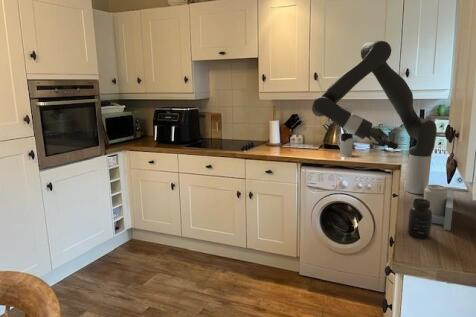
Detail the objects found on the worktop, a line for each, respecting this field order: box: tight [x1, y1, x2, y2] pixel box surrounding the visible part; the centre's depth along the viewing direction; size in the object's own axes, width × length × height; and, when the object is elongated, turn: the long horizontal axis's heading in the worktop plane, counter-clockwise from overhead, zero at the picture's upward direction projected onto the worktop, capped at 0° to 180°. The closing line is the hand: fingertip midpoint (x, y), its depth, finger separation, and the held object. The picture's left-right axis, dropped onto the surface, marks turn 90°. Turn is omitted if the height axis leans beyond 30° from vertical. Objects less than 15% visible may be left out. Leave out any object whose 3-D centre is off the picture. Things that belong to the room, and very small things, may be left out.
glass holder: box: [336, 132, 354, 158], centre depth 256 cm, size 9×14×15 cm, turn 24°
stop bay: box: [432, 189, 454, 231], centre depth 137 cm, size 24×10×8 cm, turn 150°
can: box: [423, 184, 447, 217], centre depth 137 cm, size 8×8×12 cm
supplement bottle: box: [407, 198, 433, 240], centre depth 121 cm, size 7×7×12 cm
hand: (396, 147), depth 147 cm, fingers closed
